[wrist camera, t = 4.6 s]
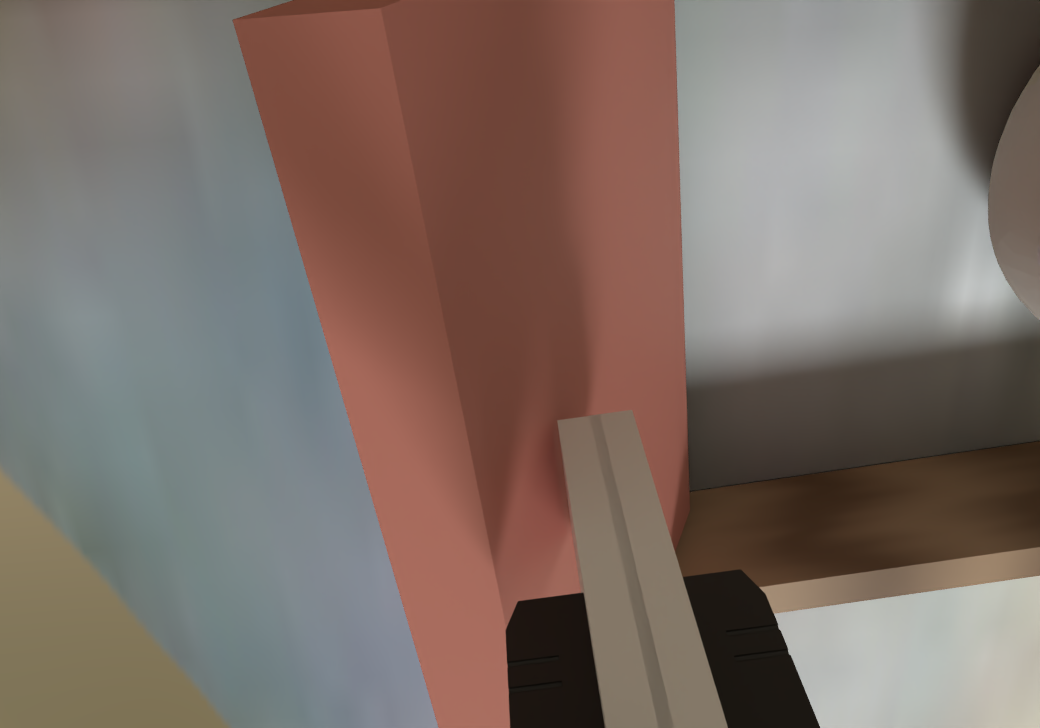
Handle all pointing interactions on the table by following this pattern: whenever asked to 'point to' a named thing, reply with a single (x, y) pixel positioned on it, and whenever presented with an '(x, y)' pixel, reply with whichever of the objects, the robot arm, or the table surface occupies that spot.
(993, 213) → the teacup
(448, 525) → the pink flat slab
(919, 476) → the crate
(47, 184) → the table surface
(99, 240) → the table surface
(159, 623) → the table surface
